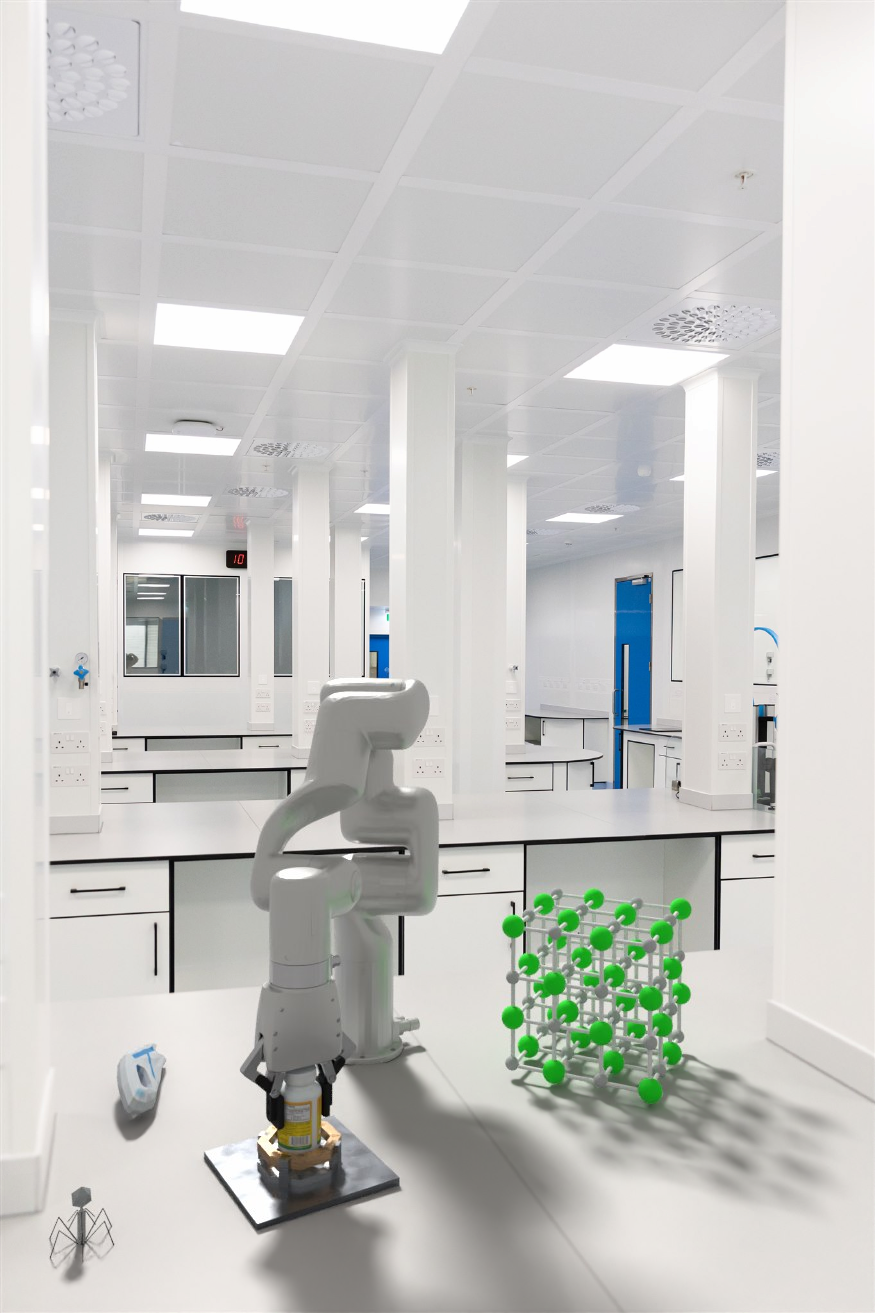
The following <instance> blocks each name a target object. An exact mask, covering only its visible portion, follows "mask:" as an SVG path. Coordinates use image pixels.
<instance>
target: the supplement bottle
mask: <svg viewBox="0 0 875 1313" xmlns="http://www.w3.org/2000/svg"><path fill="white" fill-rule="evenodd" d="M317 1076H318V1073H317V1067H316V1065H312V1066H308V1067H304V1068H300V1069H295V1070H291V1071H287V1072H286V1074H285V1077H284V1081H283V1084H282V1088H281V1094H282V1095H283V1097H284V1128H283V1129H281V1130H278V1148H279V1150H280V1151H281V1152H288V1153H296V1154H302V1153H306V1152H309V1151H313V1150H316V1149H318V1148H319V1146H320V1144H321V1119H322V1115H321V1104H322V1089H321V1086H320V1084H319V1083H318V1082H317V1081H316V1077H317Z"/></svg>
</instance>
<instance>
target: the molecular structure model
mask: <svg viewBox="0 0 875 1313" xmlns="http://www.w3.org/2000/svg"><path fill="white" fill-rule="evenodd" d="M562 898H568V899H578V900H583V902H584V903H581V902H580V903H578V904H577V905H576V906H575V907H571V906H563V905H560V900H561V899H562ZM604 903H609V904H619V905H617V907H616V908H615V911H613V912H612V911H605V910H604V911H603V910H598V909H600V908H601V907H603V905H604ZM643 907H644V908H645V907H646V908H653V909H661V910H662V909H663V910H669V911H670V913H667V914H665V915H663V917H662V918H661V917H652V916H644V915H640V914H639V912H640V911H639V910H640V909H642V908H643ZM533 908H534V909H529V908H528V909H527V908H526V909H525V910H524V911H523V912H522V916H521V917H520V916H519V915H516V914H510V915H508V916H506V917H505V918H504V919H503V921H502V923H501V924H502V925H501V928H502V931H503V934H505V936H507V937H508V938H510V942H511V943H510V944H511V945H510V950H511V951H510V970H509V971H507V973H506V976H505V979H506V982H507V983H508V984H510V1005H509V1006H507V1007H505V1008H504V1009H503V1011H502V1012H501V1013H502V1014H501V1022H502V1024H503V1025H504V1027H506V1028H507V1029H509V1030H510V1056H508V1057H507V1058H506V1059H505V1062H504V1064H505V1067H506V1069H507V1070H509V1071H511V1072H512V1071H516V1070H517V1069H522V1070H526V1071H531V1072H536V1073H540V1074H541V1073H542V1076H543V1078H544V1080H545V1081H546V1082H548V1083H549V1084H551V1085H557V1084H559V1083H562V1082H563V1081H564V1079H565V1078H566V1079H571V1080H575V1081H582V1082H586V1083H592V1084H594V1085H595V1087H597V1088H599V1089H604V1088H606V1087H612V1088H617V1089H619V1090H620V1089H621V1090H627V1091H630V1092H631V1091H632V1092H636V1093H638V1095H639V1097H640V1099H641V1100H642V1101H643V1102H644V1103H646V1104H651V1105H652V1104H656V1103H658V1102H659V1101H660V1100H661V1099H662V1096H663V1091H664V1090H663V1087H662V1085H661V1083H660V1082H659V1081H658V1079H660V1078H661V1079H662V1078H664V1077H665V1076H666V1075H667V1068H666V1067H667V1066H666V1064H667V1065H670V1066H672V1065H673V1066H675V1065H677V1064H678V1063H679V1062H680V1061H681V1059H682V1057H683V1051H682V1048H681V1046H680V1045H679V1044H681V1043H683V1042H684V1040H685V1034H684V1032H683V1031H682V1005H685V1004H687V1003H689V1002H690V999H691V996H692V992H691V989H690V987H689V986H688V985H687V984H685V983H684V982H682V974H683V965H682V964H683V963H682V962H684V960H685V958H686V954H685V952H684V950H683V948H682V947H683V945H682V944H683V941H682V940H683V938H682V936H683V935H682V934H683V920H687V919H688V918H689V917H690V916H691V914H692V911H693V910H692V908H693V907H692V906H691V903H690V902H689V901H688V900H687V899H685V898H683V897H682V898H681V897H679V898H676V899H673V901H672V902H671V903H670V905H665V904H656V903H645V902H643V899H642V898H640V897H639V896H634V897H632V898H631V899H630V900H624V899H623V900H621V899H614V898H613V899H612V898H605V896H604V894H603V892H602V891H601V890H600V889H599V888H589V889H588V890H586V892H585V893H584V895H578V894H569V893H563V890H562V889H561V888H560V887H554V888H553V889H552V890H551V892H550V894H548V893H546V892H545V893H542V892H541V893H539V894H537V895H536V897H534V900H533ZM553 910H555V917H554V916H547V915H548V914H550V913H552V911H553ZM537 913H538V914H540V915H538V914H537ZM588 914H591V922H590V921H585V917H586V916H587V915H588ZM597 915H600V916H609V917H614V919H610V920H609V921H608V922H607V923H599V922H596V920H597V919H596V916H597ZM534 920H541V928H536V927H532V923H533V921H534ZM546 921H547V922H548V921H550V922H555V925H551V926H550V927H549V928H548V929H546ZM640 921H649V922H650V921H651V922H654V923H652V924H651V926H650V929H646V928H639V926H640V925H639V924H640V923H639V922H640ZM525 922H526V926H525ZM632 924H634V927H631V926H630V925H632ZM676 924H677V949H674V934H675V932H674V927H675V926H676ZM585 926H586V927H587V926H588V927H591V932H590V934H585ZM578 927H579V933H576V932H575V933H573V932H574V931H576V930H577V929H578ZM620 931H623V939H621V938H620V939H618V938H617V934H618V933H620ZM524 932H526V952H525V953H523V954H522V955H521V956H520V957H519V959H518V963H517V966H518V969H519V970H518V971H516V939H517V938H519V937H521V936H522V935H523V933H524ZM532 932H533V933H537V934H538V933H539V934H541V943H540V944H539V945H538V947H537V949H536V953H537V954H534V953H532V952H531V951H532V950H531V948H532V946H531V942H532V941H531V938H532ZM629 932H632V933H633V932H634V938H632V939H630V940H629ZM546 934H547V943H548V945H547V944H546ZM639 934H650V936H651V937H647V938H645V939H644V940H641V939H639ZM572 938H573V939H572ZM574 938H576V939H574ZM577 939H579V940H577ZM585 940H587V941H585ZM572 944H576V945H579V946H578V947H576V948H574V950H572ZM617 944H620V945H623V946H619V945H617ZM657 944H658V946H659V947H658V946H657ZM666 944H668V952H664V951H665V950H664V947H665V946H664V945H666ZM585 946H587V947H585ZM565 947H566V951H561V950H562V949H563V948H565ZM657 947H658V951H656V949H657ZM610 949H611V958H609V957H605V951H608V950H610ZM596 950H597V951H599V956H596ZM617 951H623V955H622V956H621V957H620V958H619V959H617ZM549 954H551V958H552V964H551V965H546V957H547V956H549ZM646 954H647V959H648V960H647V962H648V963H643V962H639V961H641V960H642V959H644V958H645V956H646ZM560 956H564V957H566V963H565V964H563V965H562V967H560ZM654 956H658V964H654ZM664 957H666V958H664ZM540 959H541V963H540ZM633 960H634V961H633ZM596 961H599V968H598V970H599V971H598V970H597V969H596ZM605 962H607V963H611V964H608V965H607V966H605V965H604V964H605ZM590 966H591V969H590V970H589V971H585V970H584V969H587V968H588V967H590ZM632 966H633V967H634V974H633V975H634V978H629V977H628V976H629V975H628V974H629V973H628V972H629V971H628V970H629V969H630V968H631V967H632ZM575 967H576V968H578V969H579V970H578V969H575ZM639 967H640V968H645V969H646V968H647V980H644V979H639ZM539 970H540V971H541V973H540V976H539V977H536V978H534V977H531V976H533V975H535V974H536V973H538V971H539ZM546 970H548V971H550V972H548V973H546ZM654 970H658V975H656V976H655V977H654V978H653V975H654ZM522 974H524V975H526V976H521V975H522ZM574 975H578V976H574ZM571 980H572V981H578V982H579V985H578V984H573V983H572V981H571ZM667 980H668V982H667ZM675 980H676V982H674V983H673V981H675ZM519 981H522V982H526V984H525V985H526V989H525V990H526V991H525V992H526V993H525V994H526V995H525V996H524V997H523V998H522V1001H521V1003H522V1007H521V1008H520V1007H519V1006H516V984H517V983H518V982H519ZM531 983H533V985H532V989H533V992H534V995H533V996H532V995H531ZM629 983H630V984H629ZM643 985H645V986H643ZM667 985H668V989H667V990H665V989H666V988H667ZM609 987H610V988H611V989H609ZM617 988H621V989H620V990H618V991H617ZM571 989H573V990H578V991H576V992H572V990H571ZM590 992H591V995H590V994H589V993H590ZM560 995H563V996H566V999H565V1000H562V1001H560ZM608 995H611V998H610V997H608ZM664 995H667V996H668V998H667V999H668V1000H667V1001H668V1002H666V1003H665V1004H664ZM551 996H552V997H551ZM549 997H551V998H552V999H551V1000H552V1002H551V1004H546V999H548V998H549ZM572 997H574V998H575V1001H574V1000H572V999H571V998H572ZM538 998H540V999H541V1000H540V1002H536V1000H537V999H538ZM588 999H589V1000H590V1001H591V1004H590V1005H591V1007H590V1008H591V1010H590V1011H588V1010H584V1009H585V1008H584V1004H585V1003H586V1002H587V1001H588ZM596 1001H598V1004H599V1005H598V1008H599V1009H598V1010H599V1011H598V1012H596ZM604 1002H607V1003H611V1010H609V1011H608V1012H607V1014H606V1013H605V1012H604V1010H605V1009H604V1007H605V1006H604ZM578 1005H579V1006H578ZM535 1007H537V1008H540V1009H541V1010H540V1014H541V1016H540V1020H541V1021H540V1020H536V1019H535V1020H534V1019H531V1010H532V1009H533V1008H535ZM639 1008H643V1009H644V1011H645V1010H646V1011H647V1020H641V1019H640V1018H639ZM546 1009H547V1011H546ZM632 1010H633V1017H628V1012H631V1011H632ZM525 1011H526V1013H525V1014H526V1015H524V1012H525ZM655 1011H658V1012H656V1013H654V1014H653V1012H655ZM621 1012H623V1013H622V1014H623V1015H622V1016H621ZM675 1015H676V1023H677V1024H676V1029H675V1030H673V1026H674V1023H673V1016H675ZM525 1016H526V1018H525ZM584 1016H588V1017H587V1018H586V1019H584V1018H585V1017H584ZM546 1017H547V1020H548V1021H546ZM604 1019H607V1021H605V1020H604ZM574 1022H575V1023H579V1025H577V1026H576V1027H574V1026H571V1025H572V1024H571V1023H574ZM619 1022H623V1024H622V1025H618V1024H619ZM564 1023H566V1025H563V1024H564ZM523 1024H525V1027H526V1029H525V1030H526V1032H525V1034H524V1035H522V1036H520V1038H519V1040H518V1042H517V1050H518V1053H520V1054H519V1055H518V1056H517V1057H516V1030H517V1029H519V1028H520V1027H522V1026H523ZM584 1024H586V1025H587V1026H585V1025H584ZM531 1025H536V1029H535V1031H536V1034H537V1036H536V1037H535V1036H534V1035H532V1034H531ZM561 1030H563V1031H566V1033H562V1032H560V1031H561ZM617 1030H620V1031H622V1034H623V1035H619V1034H617ZM548 1035H549V1036H551V1049H548V1048H543V1047H540V1043H539V1041H540V1039H541V1038H542V1037H546V1036H548ZM557 1037H559V1038H565V1039H566V1041H565V1043H566V1044H565V1045H566V1046H563V1047H562V1049H561V1051H559V1050H557ZM656 1037H658V1038H656ZM664 1038H665V1039H667V1041H665V1042H664ZM617 1040H618V1042H617ZM571 1042H572V1046H571ZM663 1042H664V1043H663ZM591 1043H592V1044H595V1045H597V1046H598V1058H595V1057H589V1056H585V1055H580V1054H575V1051H576V1049H577V1048H579V1049H585V1048H588V1047H589V1046H590V1045H591ZM632 1043H638V1044H643V1046H644V1047H641V1046H636V1045H635V1046H634V1045H632ZM604 1046H609V1047H611V1049H610V1050H607V1051H606V1052H605V1053H604ZM657 1047H658V1050H656V1048H657ZM617 1048H619V1051H617V1050H616V1049H617ZM630 1050H631V1051H636V1052H642V1053H647V1067H643V1066H638V1065H635V1064H634V1065H633V1064H627V1063H625V1059H624V1057H623V1054H624V1053H627V1052H629V1051H630ZM538 1053H544V1054H550V1055H551V1059H549V1060H546V1061H545V1063H544V1064H543V1066H542V1068H540V1067H535V1066H531V1065H525V1064H520V1061H521V1060H522V1059H523V1058H526V1059H530V1058H534V1057H536V1055H538ZM653 1055H658V1056H657V1057H658V1059H657V1061H658V1062H656V1063H655V1064H653ZM557 1056H558V1057H559V1056H560V1057H562V1058H561V1060H558V1059H557ZM572 1059H576V1060H579V1061H580V1060H581V1061H585V1062H591V1063H597V1064H598V1073H597V1074H595V1075H594V1077H593V1078H591V1077H586V1076H582V1075H576V1074H571V1073H566V1068H565V1066H564V1064H565V1063H566V1061H571V1060H572ZM623 1069H629V1070H634V1071H639V1072H644V1073H647V1074H646V1075H647V1077H645V1078H643V1079H642V1080H641V1081H640V1082H639V1084H638V1087H637V1086H632V1085H627V1084H621V1083H617V1082H613V1081H609V1080H608V1077H609V1074H611V1075H616V1074H617V1075H618V1074H619V1073H621V1072H622V1071H623ZM604 1071H605V1072H604Z"/></svg>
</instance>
